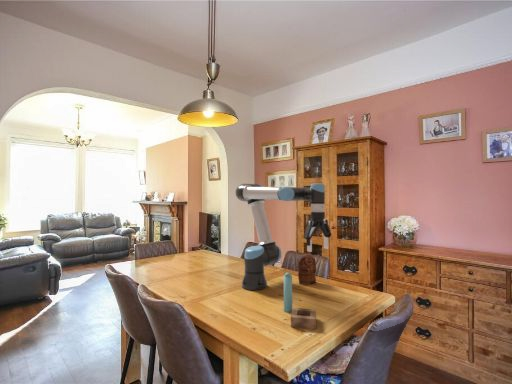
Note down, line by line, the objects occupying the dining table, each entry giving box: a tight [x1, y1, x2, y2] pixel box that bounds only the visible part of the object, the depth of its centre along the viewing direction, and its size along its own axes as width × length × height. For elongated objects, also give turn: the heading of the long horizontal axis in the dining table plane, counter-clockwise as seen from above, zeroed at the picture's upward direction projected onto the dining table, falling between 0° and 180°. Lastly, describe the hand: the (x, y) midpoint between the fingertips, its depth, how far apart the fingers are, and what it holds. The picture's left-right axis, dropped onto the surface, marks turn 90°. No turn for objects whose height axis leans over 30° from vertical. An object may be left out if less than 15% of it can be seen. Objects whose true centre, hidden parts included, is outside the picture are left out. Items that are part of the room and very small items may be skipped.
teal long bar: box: [283, 271, 293, 313], centre depth 128 cm, size 4×4×18 cm
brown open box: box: [290, 307, 317, 330], centre depth 115 cm, size 10×10×4 cm
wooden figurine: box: [297, 253, 317, 286], centre depth 169 cm, size 12×6×18 cm, turn 124°
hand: (318, 250), depth 149 cm, fingers open, 13 cm apart
